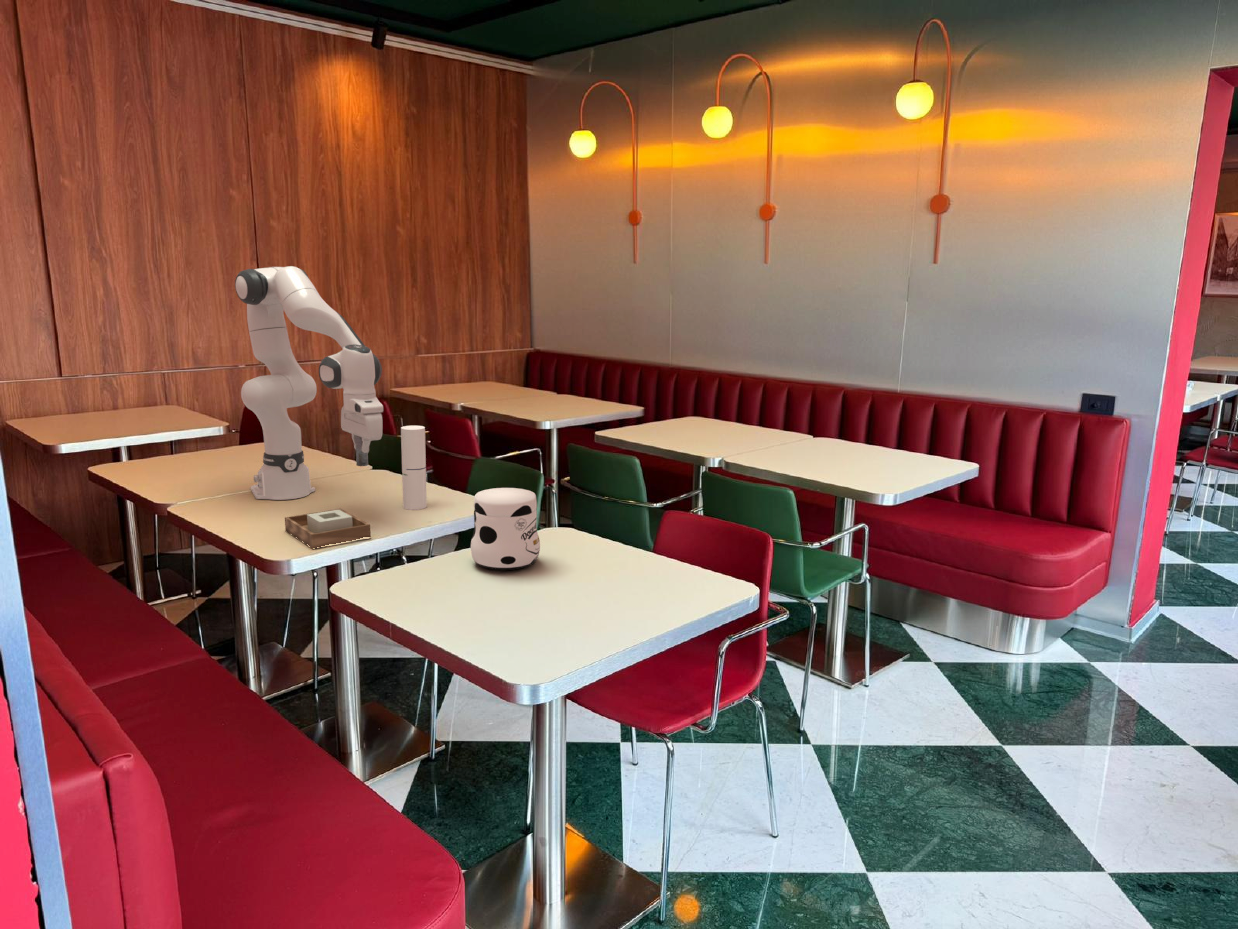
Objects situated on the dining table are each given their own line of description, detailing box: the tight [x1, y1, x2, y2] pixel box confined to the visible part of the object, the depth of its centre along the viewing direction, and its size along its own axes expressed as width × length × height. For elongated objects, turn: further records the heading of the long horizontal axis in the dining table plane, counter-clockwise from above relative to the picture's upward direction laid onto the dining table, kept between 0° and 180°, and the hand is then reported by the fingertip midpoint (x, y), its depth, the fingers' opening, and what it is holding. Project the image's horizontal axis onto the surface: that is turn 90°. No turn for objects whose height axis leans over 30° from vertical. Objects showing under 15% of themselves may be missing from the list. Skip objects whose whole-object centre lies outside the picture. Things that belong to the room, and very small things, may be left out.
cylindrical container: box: [400, 425, 428, 511], centre depth 267 cm, size 7×7×25 cm
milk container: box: [470, 487, 541, 571], centre depth 217 cm, size 17×17×18 cm
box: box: [284, 508, 372, 549], centre depth 238 cm, size 20×16×4 cm
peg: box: [355, 435, 369, 467], centre depth 248 cm, size 3×3×11 cm
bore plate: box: [306, 509, 353, 534], centre depth 236 cm, size 9×9×5 cm
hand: (361, 450), depth 248 cm, fingers closed on peg, 3 cm apart
